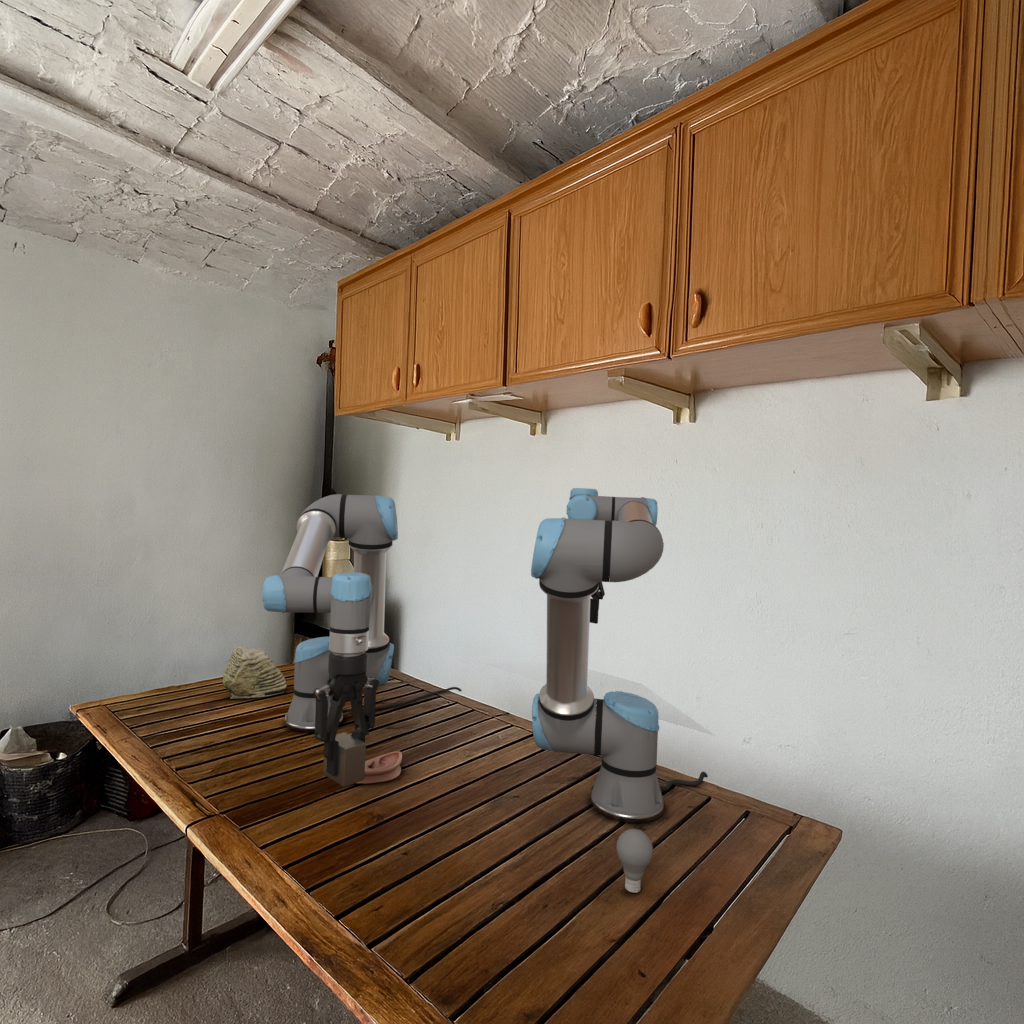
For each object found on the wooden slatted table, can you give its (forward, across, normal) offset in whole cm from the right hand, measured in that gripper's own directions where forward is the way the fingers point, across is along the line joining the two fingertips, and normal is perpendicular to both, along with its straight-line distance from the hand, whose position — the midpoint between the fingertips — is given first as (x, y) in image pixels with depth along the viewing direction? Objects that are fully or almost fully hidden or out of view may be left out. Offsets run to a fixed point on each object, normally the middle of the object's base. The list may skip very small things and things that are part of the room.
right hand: (578, 625), depth 169 cm
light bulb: (+32, -44, -46) cm, 71 cm away
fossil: (+32, -44, +91) cm, 106 cm away
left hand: (+22, -66, +7) cm, 70 cm away
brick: (+23, -66, +7) cm, 71 cm away
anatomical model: (+32, -51, +20) cm, 63 cm away
